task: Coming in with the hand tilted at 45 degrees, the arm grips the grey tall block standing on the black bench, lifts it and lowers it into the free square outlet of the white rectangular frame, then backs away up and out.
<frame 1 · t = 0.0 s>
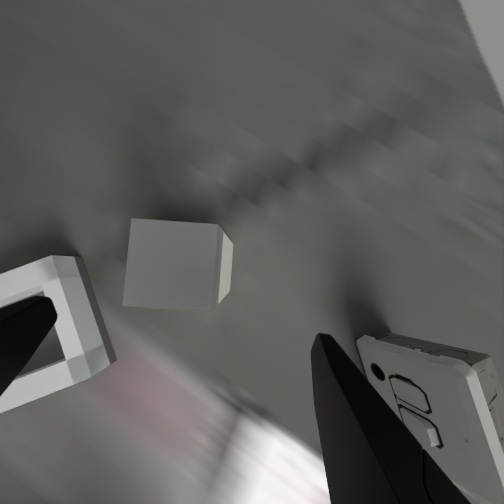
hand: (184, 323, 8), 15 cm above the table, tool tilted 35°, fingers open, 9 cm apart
white rectangular frame: (11, 341, 22), on the table
grey tall block: (208, 265, 23), on the table
electrical switch: (392, 371, 23), on the table
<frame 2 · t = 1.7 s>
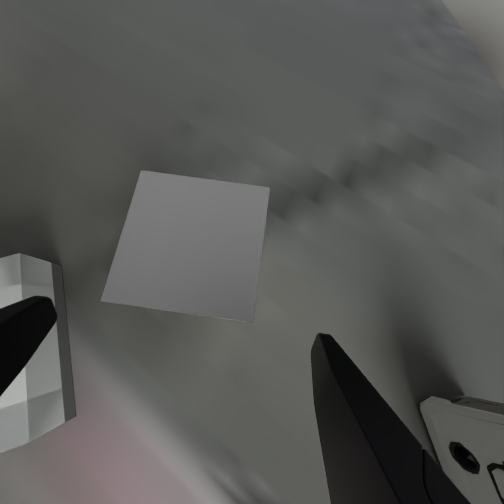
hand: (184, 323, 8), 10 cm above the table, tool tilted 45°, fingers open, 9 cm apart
grey tall block: (221, 287, 18), on the table
electrical switch: (474, 458, 16), on the table
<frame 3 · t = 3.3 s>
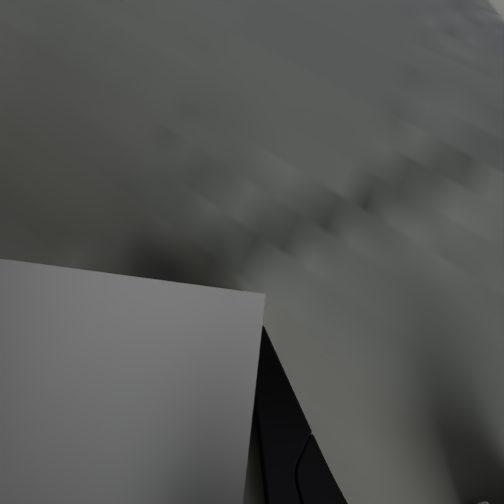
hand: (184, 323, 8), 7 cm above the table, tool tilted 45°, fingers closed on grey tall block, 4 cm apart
grey tall block: (206, 345, 14), on the table, touching gripper
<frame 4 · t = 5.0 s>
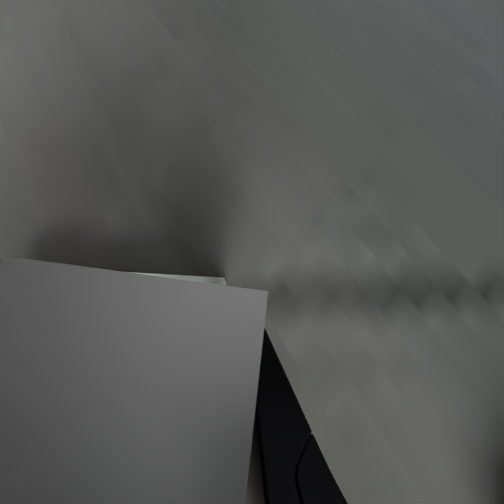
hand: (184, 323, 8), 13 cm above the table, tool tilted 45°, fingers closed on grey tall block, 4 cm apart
white rectangular frame: (119, 339, 20), on the table
grey tall block: (207, 344, 14), point 7 cm above the table, touching gripper
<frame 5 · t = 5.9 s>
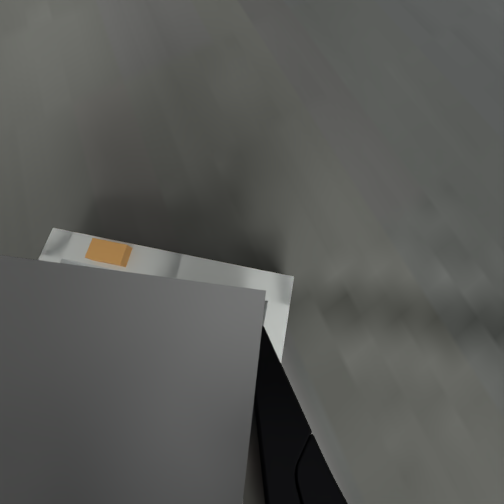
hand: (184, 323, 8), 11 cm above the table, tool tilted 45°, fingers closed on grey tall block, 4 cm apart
white rectangular frame: (166, 326, 18), on the table
grey tall block: (206, 344, 14), point 5 cm above the table, touching gripper
when the fingers open (8 cm above the table, at t = 6.8 s): grey tall block stays where it is, resting on white rectangular frame.
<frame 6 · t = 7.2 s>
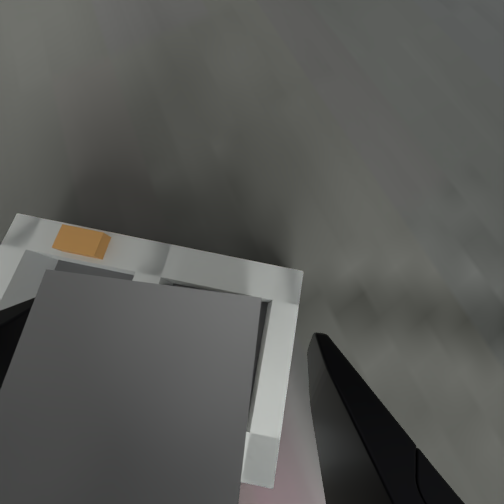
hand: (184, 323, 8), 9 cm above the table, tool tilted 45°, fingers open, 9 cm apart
white rectangular frame: (153, 330, 16), on the table
grey tall block: (208, 343, 15), point 1 cm above the table, touching white rectangular frame
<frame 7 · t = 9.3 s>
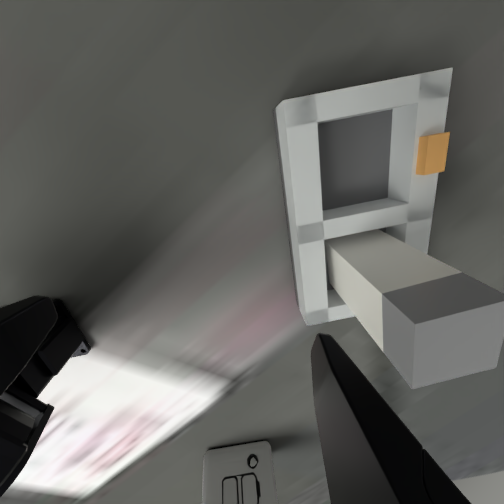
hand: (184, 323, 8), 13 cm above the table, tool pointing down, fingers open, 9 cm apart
white rectangular frame: (344, 211, 21), on the table
grey tall block: (350, 256, 21), point 1 cm above the table, touching white rectangular frame
electrical switch: (240, 452, 34), on the table
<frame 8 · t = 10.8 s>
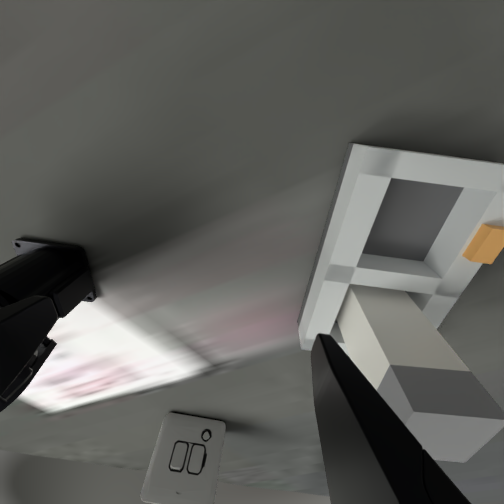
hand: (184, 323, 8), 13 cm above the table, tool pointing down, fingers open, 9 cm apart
white rectangular frame: (376, 258, 21), on the table
grey tall block: (365, 300, 22), point 1 cm above the table, touching white rectangular frame
electrical switch: (197, 422, 37), on the table
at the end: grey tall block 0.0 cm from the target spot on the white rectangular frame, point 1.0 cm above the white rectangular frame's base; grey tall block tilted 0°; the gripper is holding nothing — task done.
